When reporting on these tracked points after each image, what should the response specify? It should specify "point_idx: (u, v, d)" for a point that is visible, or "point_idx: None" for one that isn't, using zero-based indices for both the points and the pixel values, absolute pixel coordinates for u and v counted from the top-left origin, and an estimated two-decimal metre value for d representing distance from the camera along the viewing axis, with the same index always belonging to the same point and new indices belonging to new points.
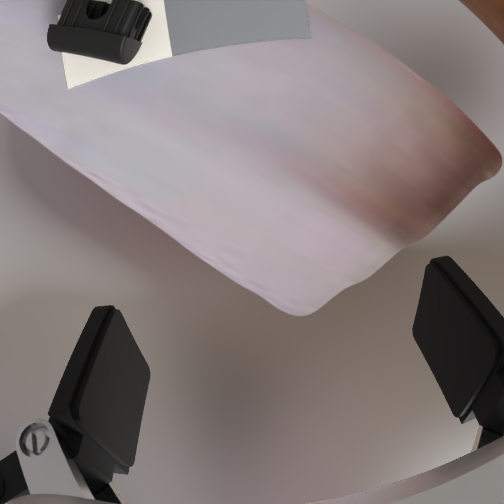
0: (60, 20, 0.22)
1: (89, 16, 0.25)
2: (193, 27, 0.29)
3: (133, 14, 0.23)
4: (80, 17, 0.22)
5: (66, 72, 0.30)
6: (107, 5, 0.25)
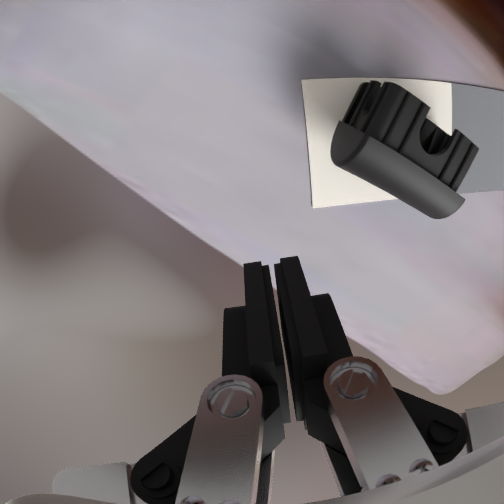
0: (379, 131, 0.18)
1: None
2: None
3: (470, 165, 0.19)
4: (413, 142, 0.18)
5: (313, 183, 0.26)
6: None
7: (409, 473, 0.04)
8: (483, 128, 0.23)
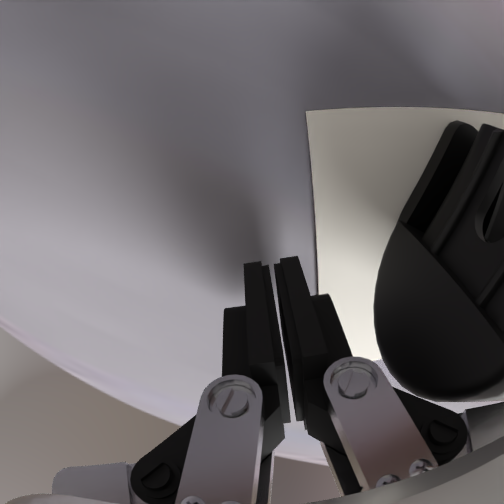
0: None
1: None
2: None
3: None
4: None
5: None
6: None
7: (409, 473, 0.04)
8: None
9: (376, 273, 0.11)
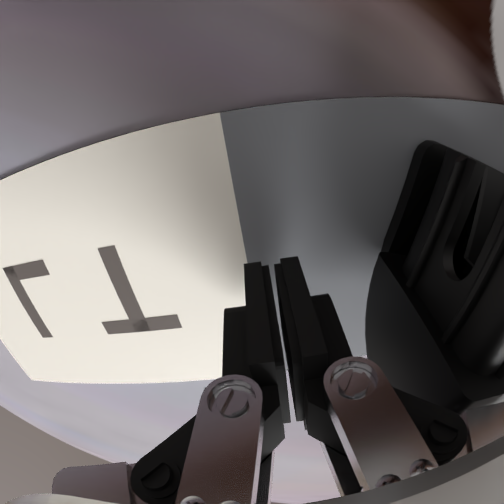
0: (495, 357, 0.05)
1: None
2: None
3: None
4: None
5: (13, 353, 0.13)
6: None
7: (409, 473, 0.04)
8: (369, 223, 0.10)
9: (8, 313, 0.12)
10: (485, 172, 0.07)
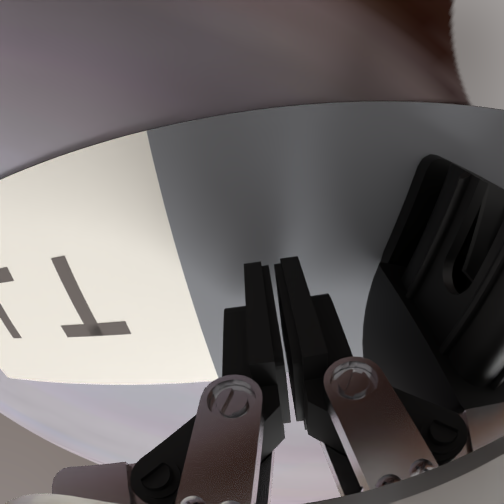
0: (491, 369, 0.05)
1: None
2: None
3: None
4: None
5: None
6: None
7: (409, 473, 0.04)
8: (307, 236, 0.10)
9: None
10: (486, 188, 0.08)
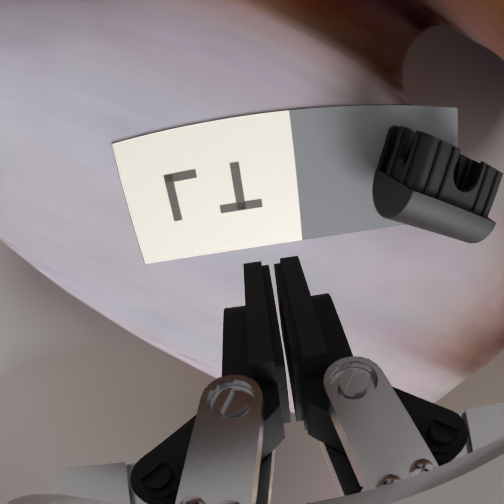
0: (420, 183, 0.19)
1: None
2: (332, 202, 0.26)
3: None
4: (448, 185, 0.19)
5: (140, 240, 0.27)
6: None
7: (409, 473, 0.04)
8: (346, 157, 0.24)
9: (153, 206, 0.25)
10: None
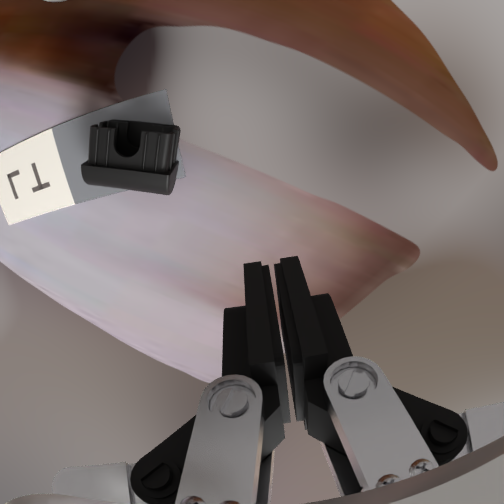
0: (90, 158, 0.29)
1: (115, 140, 0.32)
2: None
3: (169, 148, 0.30)
4: (112, 155, 0.29)
5: (4, 212, 0.37)
6: (129, 123, 0.33)
7: (409, 473, 0.04)
8: (86, 148, 0.34)
9: (6, 191, 0.36)
10: (117, 123, 0.32)
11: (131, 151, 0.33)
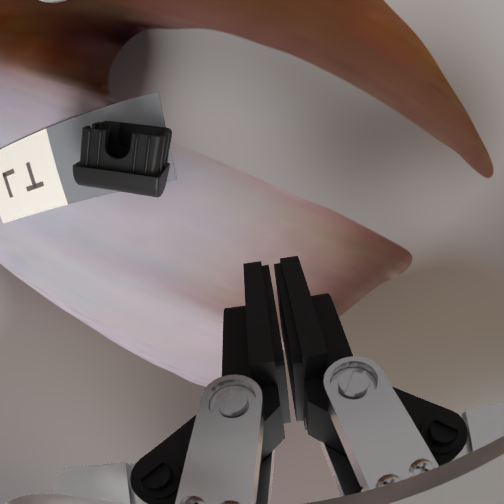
0: (82, 160, 0.29)
1: (107, 142, 0.32)
2: None
3: (158, 150, 0.30)
4: (103, 157, 0.29)
5: None
6: (122, 125, 0.33)
7: (409, 473, 0.04)
8: (79, 149, 0.34)
9: (1, 190, 0.35)
10: (110, 125, 0.32)
11: (123, 153, 0.33)
